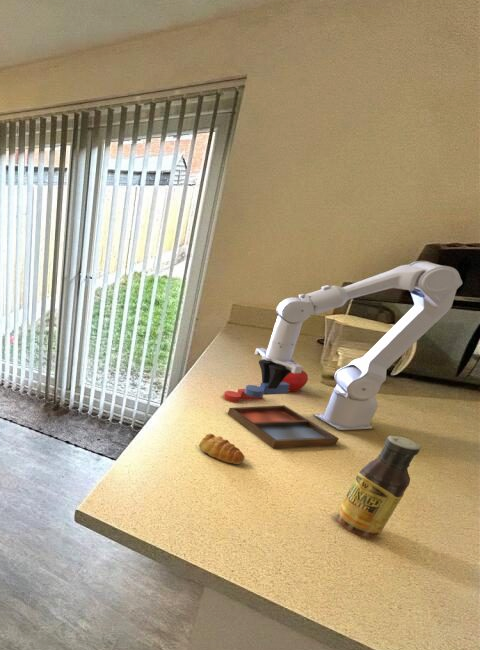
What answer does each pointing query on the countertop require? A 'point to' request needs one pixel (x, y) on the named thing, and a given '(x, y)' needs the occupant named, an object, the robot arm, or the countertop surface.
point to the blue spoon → (266, 389)
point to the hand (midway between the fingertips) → (269, 386)
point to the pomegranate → (296, 380)
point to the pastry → (221, 449)
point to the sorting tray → (282, 427)
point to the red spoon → (238, 396)
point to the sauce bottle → (378, 488)
